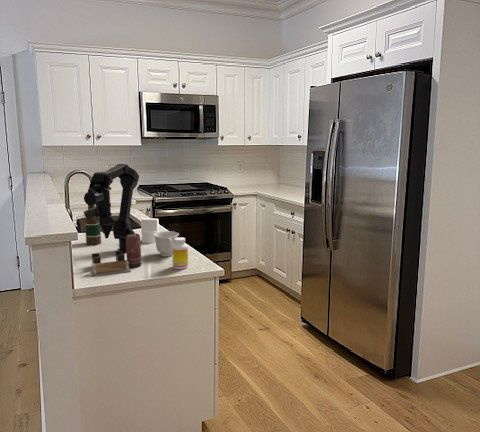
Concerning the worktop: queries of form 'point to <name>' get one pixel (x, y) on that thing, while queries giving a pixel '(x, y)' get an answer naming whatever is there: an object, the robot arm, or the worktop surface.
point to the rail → (110, 266)
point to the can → (133, 250)
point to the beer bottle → (92, 230)
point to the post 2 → (119, 256)
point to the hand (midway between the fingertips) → (105, 235)
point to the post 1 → (96, 258)
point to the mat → (110, 272)
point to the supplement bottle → (180, 253)
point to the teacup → (165, 242)
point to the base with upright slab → (149, 229)
